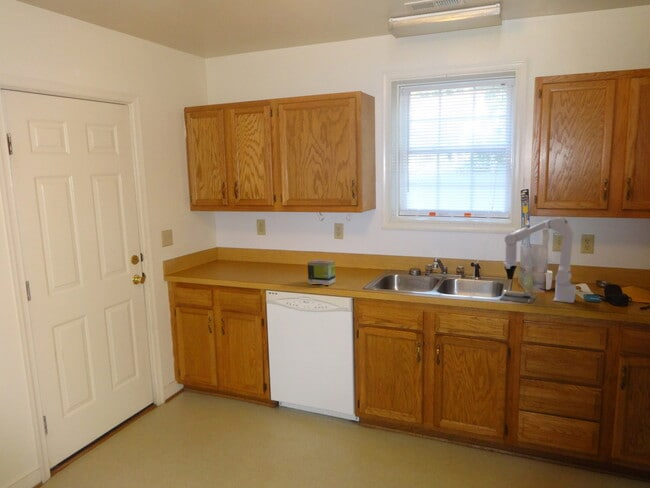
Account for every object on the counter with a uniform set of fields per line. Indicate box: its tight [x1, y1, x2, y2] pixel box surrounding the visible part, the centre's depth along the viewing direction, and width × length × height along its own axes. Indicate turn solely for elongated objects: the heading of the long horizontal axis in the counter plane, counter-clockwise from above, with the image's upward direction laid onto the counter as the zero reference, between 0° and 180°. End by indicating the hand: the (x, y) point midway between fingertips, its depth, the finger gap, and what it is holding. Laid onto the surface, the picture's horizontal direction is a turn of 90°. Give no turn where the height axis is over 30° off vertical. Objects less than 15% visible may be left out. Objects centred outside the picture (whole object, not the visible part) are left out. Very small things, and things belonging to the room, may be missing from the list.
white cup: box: [545, 269, 554, 291], centre depth 275 cm, size 8×8×10 cm
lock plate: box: [499, 295, 537, 304], centre depth 258 cm, size 16×15×1 cm
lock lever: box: [502, 289, 531, 298], centre depth 260 cm, size 14×4×2 cm, turn 57°
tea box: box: [307, 259, 336, 285], centre depth 304 cm, size 15×10×15 cm, turn 63°
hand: (510, 278), depth 266 cm, fingers closed
